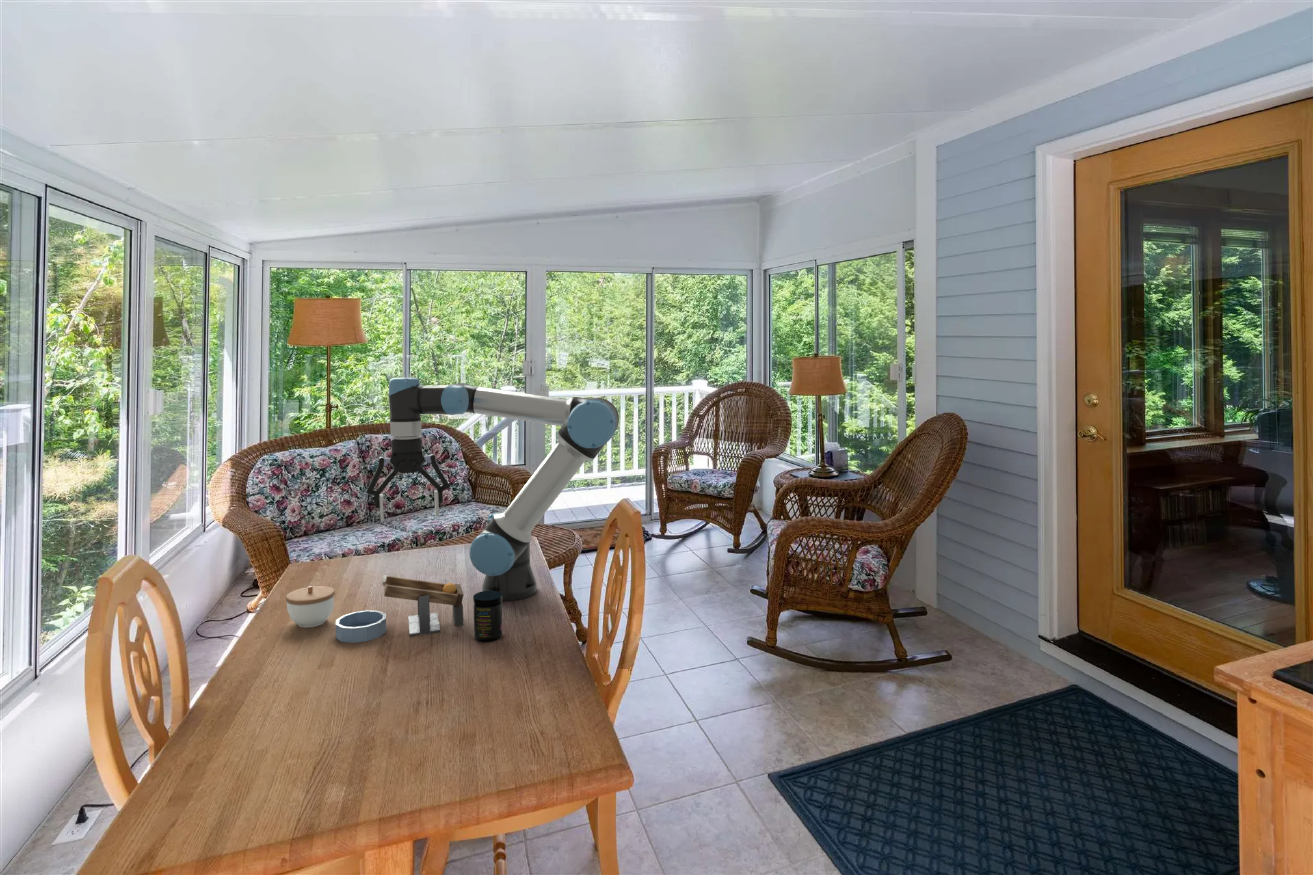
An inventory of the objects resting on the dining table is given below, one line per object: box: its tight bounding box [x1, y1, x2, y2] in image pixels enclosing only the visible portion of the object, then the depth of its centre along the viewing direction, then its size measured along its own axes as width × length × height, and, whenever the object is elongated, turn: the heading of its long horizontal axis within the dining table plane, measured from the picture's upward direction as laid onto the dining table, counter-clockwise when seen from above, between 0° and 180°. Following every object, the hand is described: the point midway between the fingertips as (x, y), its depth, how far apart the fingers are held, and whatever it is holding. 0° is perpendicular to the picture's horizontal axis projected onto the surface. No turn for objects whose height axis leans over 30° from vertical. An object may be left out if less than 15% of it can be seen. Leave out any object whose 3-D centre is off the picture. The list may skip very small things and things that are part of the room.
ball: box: [443, 582, 456, 594], centre depth 167 cm, size 3×3×3 cm
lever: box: [382, 574, 465, 606], centre depth 167 cm, size 18×14×3 cm
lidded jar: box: [285, 585, 335, 629], centre depth 166 cm, size 11×11×9 cm
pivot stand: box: [407, 595, 441, 637], centre depth 165 cm, size 7×12×9 cm, turn 22°
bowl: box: [334, 609, 387, 644], centre depth 160 cm, size 11×11×4 cm
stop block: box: [452, 602, 464, 626], centre depth 168 cm, size 2×6×5 cm, turn 22°
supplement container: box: [472, 590, 504, 643], centre depth 158 cm, size 7×7×10 cm
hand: (410, 517), depth 175 cm, fingers open, 13 cm apart
